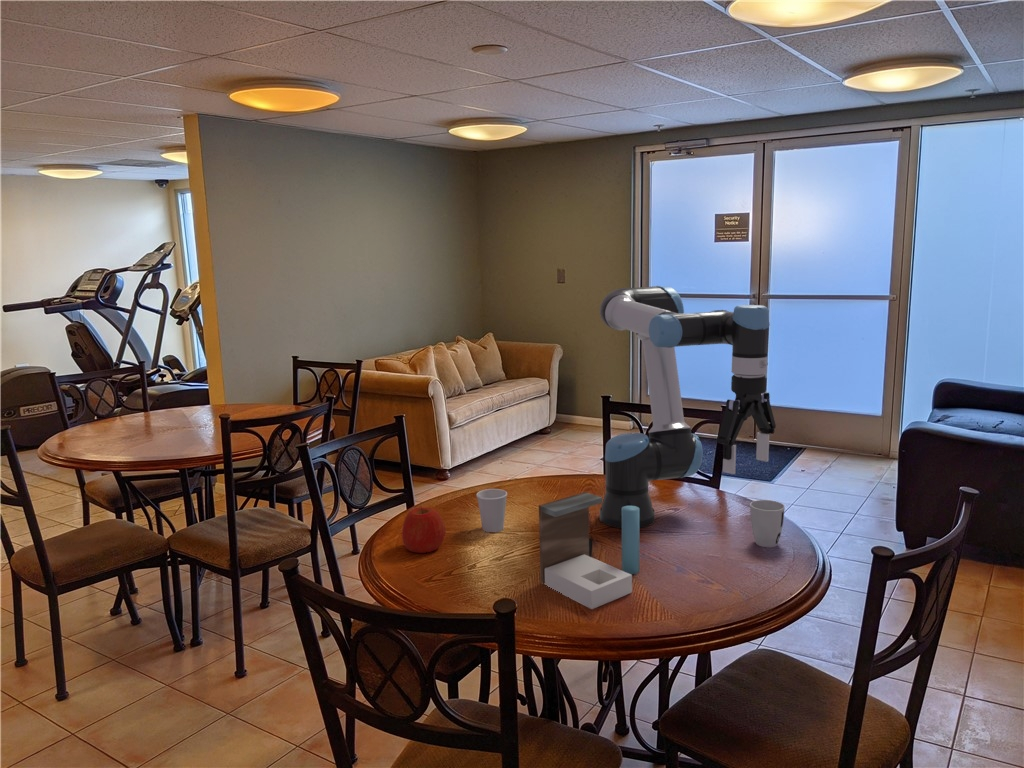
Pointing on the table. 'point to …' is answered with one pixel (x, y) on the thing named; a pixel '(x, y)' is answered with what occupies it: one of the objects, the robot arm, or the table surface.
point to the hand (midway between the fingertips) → (746, 466)
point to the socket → (588, 581)
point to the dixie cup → (492, 509)
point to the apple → (423, 530)
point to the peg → (630, 539)
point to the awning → (564, 529)
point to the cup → (767, 522)
